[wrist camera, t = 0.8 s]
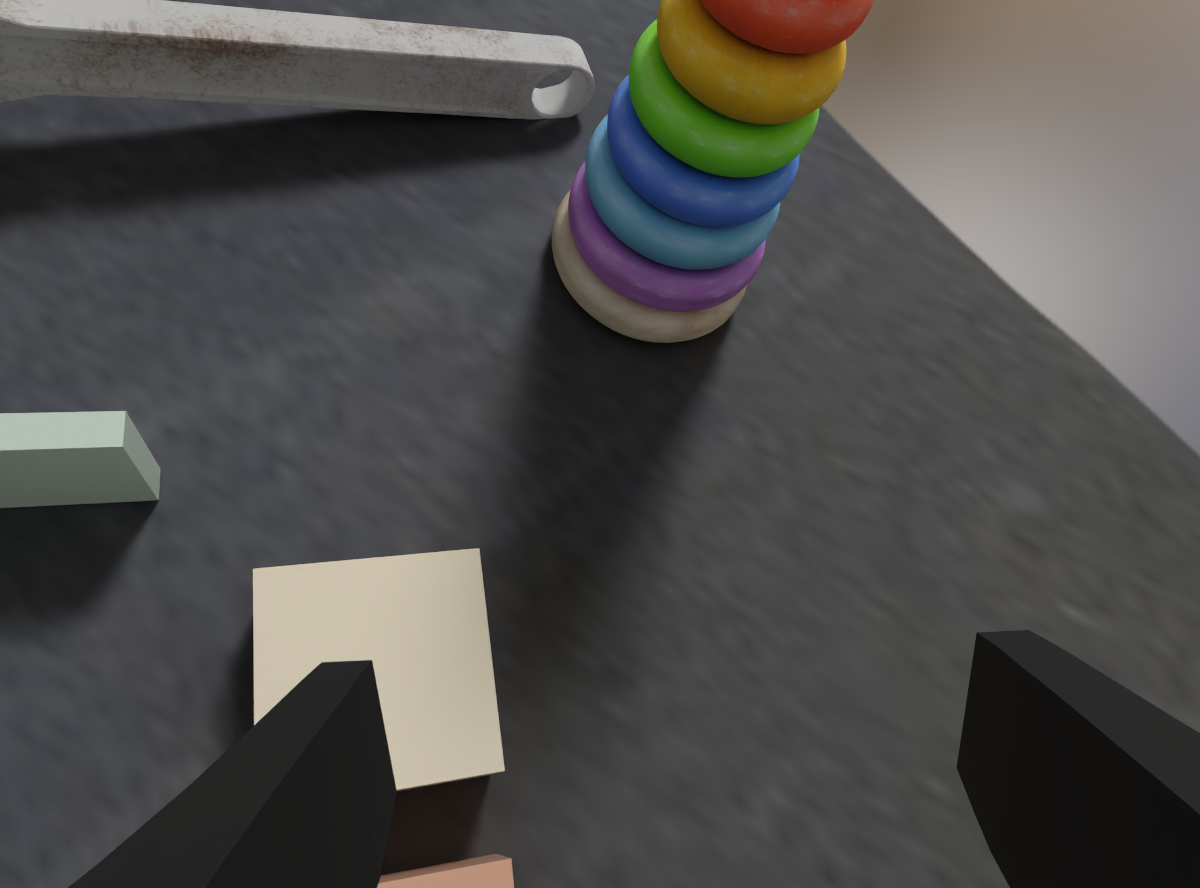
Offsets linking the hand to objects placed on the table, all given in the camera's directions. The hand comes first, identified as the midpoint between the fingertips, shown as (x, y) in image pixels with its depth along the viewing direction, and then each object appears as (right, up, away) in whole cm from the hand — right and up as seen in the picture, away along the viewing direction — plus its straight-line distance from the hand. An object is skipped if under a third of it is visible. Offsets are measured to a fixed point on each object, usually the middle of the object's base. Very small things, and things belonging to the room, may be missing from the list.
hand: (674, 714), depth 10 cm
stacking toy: (+1, +10, +23) cm, 25 cm away
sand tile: (-7, -4, +14) cm, 16 cm away
